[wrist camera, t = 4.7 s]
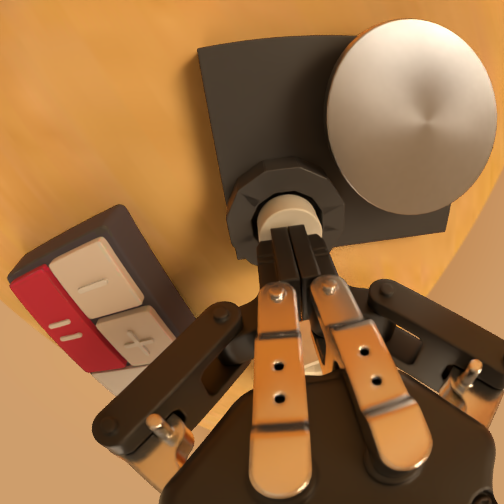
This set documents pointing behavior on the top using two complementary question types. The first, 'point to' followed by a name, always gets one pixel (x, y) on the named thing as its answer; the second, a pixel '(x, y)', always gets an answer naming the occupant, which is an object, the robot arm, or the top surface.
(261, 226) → the button
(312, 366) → the bowl
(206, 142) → the top surface
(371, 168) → the pan
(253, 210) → the grey knob plate
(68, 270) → the calculator
